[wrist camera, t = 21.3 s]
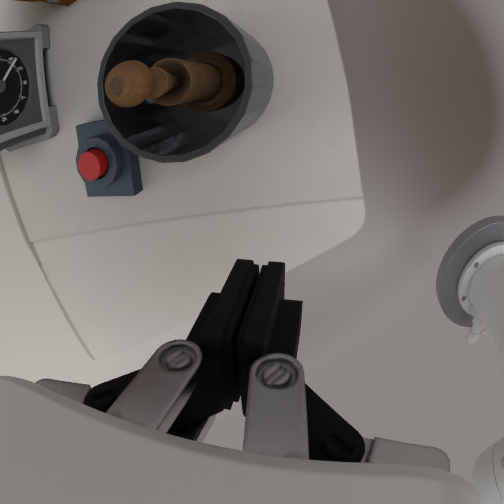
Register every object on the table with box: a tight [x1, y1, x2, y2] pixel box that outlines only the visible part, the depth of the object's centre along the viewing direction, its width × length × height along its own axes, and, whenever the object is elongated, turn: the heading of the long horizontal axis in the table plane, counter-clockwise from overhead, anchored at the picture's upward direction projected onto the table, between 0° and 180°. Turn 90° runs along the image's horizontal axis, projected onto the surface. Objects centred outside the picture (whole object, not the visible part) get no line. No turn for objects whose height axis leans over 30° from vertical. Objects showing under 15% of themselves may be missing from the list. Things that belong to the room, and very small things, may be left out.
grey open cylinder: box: [97, 2, 273, 163], centre depth 26 cm, size 13×13×12 cm
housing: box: [76, 120, 143, 197], centre depth 36 cm, size 10×8×4 cm
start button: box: [78, 149, 108, 181], centre depth 33 cm, size 4×4×2 cm
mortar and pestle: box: [105, 52, 241, 112], centre depth 22 cm, size 7×6×18 cm
